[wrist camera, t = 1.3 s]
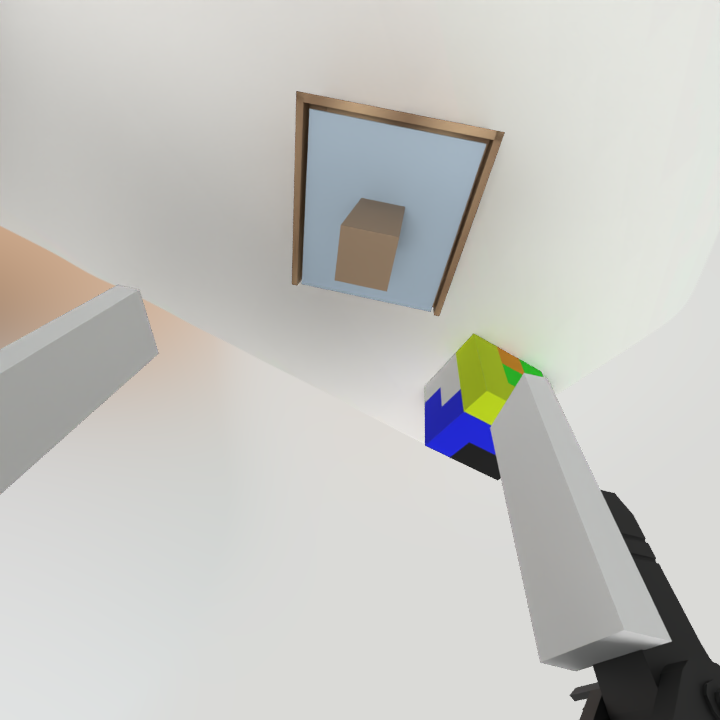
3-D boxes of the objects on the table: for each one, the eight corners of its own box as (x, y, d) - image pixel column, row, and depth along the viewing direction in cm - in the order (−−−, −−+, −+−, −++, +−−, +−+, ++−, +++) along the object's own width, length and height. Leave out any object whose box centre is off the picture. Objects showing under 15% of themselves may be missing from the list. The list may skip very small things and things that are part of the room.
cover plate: (304, 279, 31) (269, 327, 24) (313, 108, 23) (264, 105, 16) (430, 306, 31) (432, 363, 24) (484, 143, 23) (512, 155, 16)
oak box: (311, 259, 35) (291, 284, 30) (321, 96, 26) (296, 91, 21) (436, 286, 35) (439, 316, 30) (488, 129, 26) (504, 132, 21)
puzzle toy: (424, 385, 43) (425, 445, 36) (473, 333, 37) (487, 390, 30) (484, 416, 45) (497, 480, 37) (540, 371, 39) (570, 435, 31)
